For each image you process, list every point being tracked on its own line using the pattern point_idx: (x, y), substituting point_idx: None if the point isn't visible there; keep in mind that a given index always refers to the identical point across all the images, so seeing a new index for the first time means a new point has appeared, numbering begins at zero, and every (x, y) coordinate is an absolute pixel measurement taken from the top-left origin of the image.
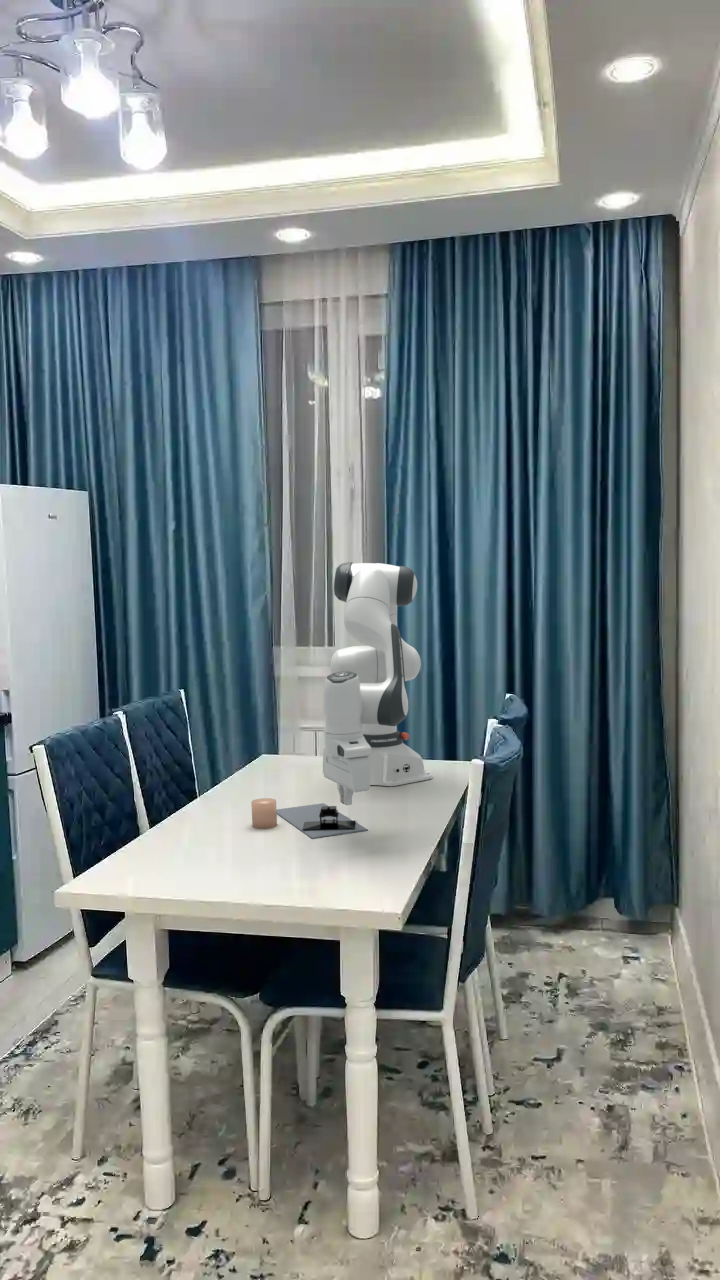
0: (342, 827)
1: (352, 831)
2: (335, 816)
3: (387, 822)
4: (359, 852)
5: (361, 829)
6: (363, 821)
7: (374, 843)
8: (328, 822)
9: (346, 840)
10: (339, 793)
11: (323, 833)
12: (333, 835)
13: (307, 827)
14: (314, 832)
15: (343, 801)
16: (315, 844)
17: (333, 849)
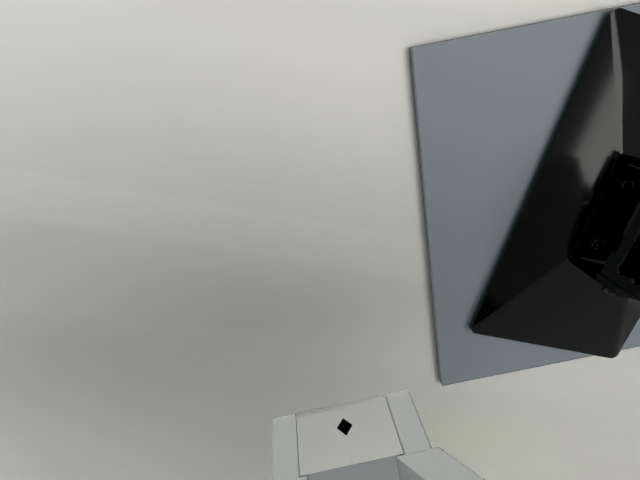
0: (509, 274)
1: (437, 311)
2: (602, 271)
3: (533, 471)
4: (29, 281)
5: (454, 358)
6: (612, 385)
7: (195, 375)
8: (608, 210)
9: (298, 253)
10: (450, 464)
11: (474, 144)
12: (424, 199)
13: (628, 53)
14: (526, 89)
15: (315, 428)
16: (270, 46)
17: (120, 146)
